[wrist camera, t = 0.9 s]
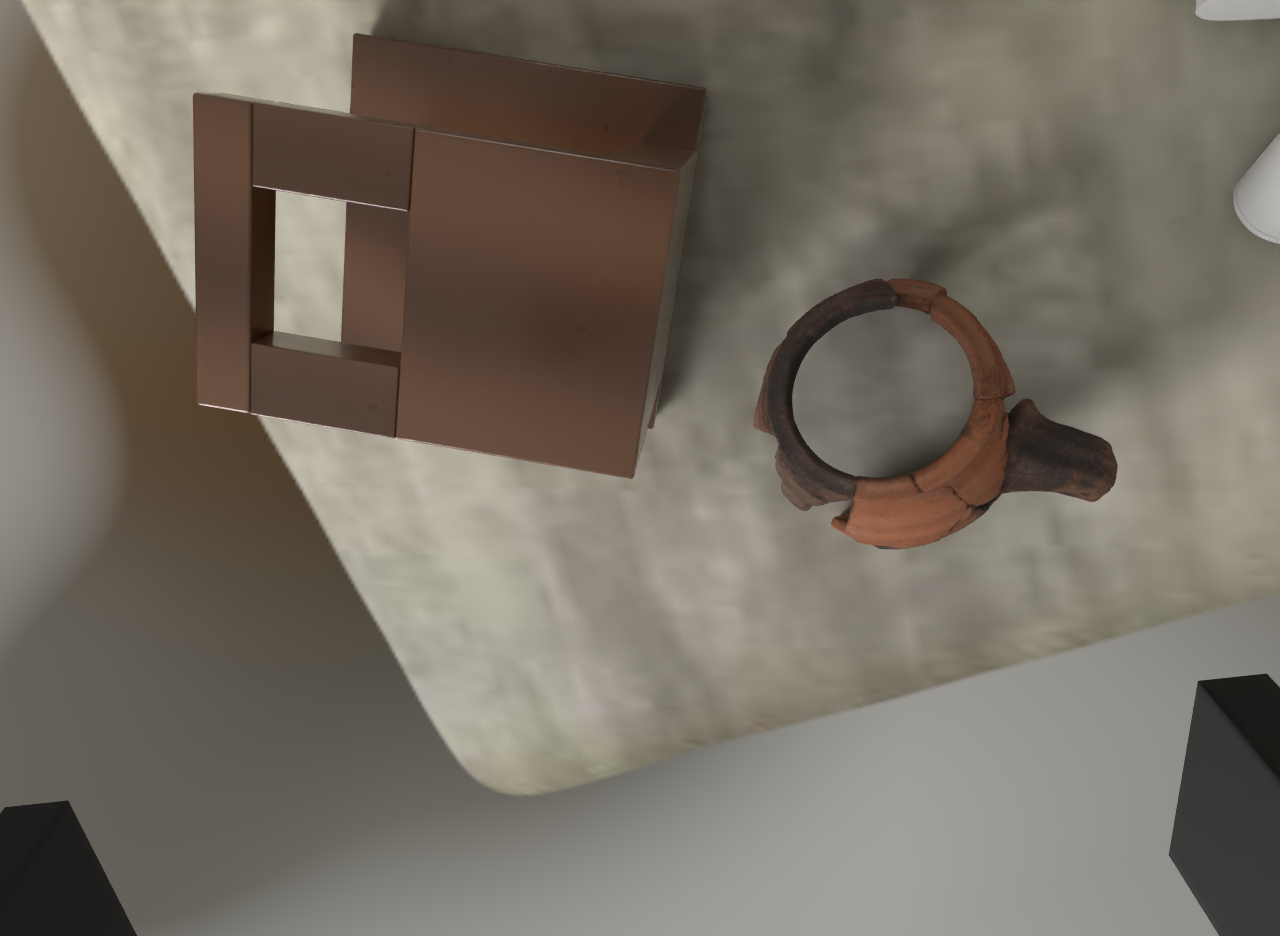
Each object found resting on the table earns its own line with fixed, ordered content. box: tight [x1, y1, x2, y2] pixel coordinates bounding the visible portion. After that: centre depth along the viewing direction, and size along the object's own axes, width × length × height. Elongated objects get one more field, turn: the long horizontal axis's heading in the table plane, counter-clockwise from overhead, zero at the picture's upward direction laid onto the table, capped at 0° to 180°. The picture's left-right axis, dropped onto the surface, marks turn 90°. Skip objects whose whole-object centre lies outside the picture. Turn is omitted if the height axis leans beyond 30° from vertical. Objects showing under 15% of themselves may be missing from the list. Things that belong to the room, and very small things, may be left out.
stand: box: [193, 33, 708, 479], centre depth 31 cm, size 12×12×12 cm
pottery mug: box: [753, 279, 1118, 549], centre depth 35 cm, size 12×10×8 cm
